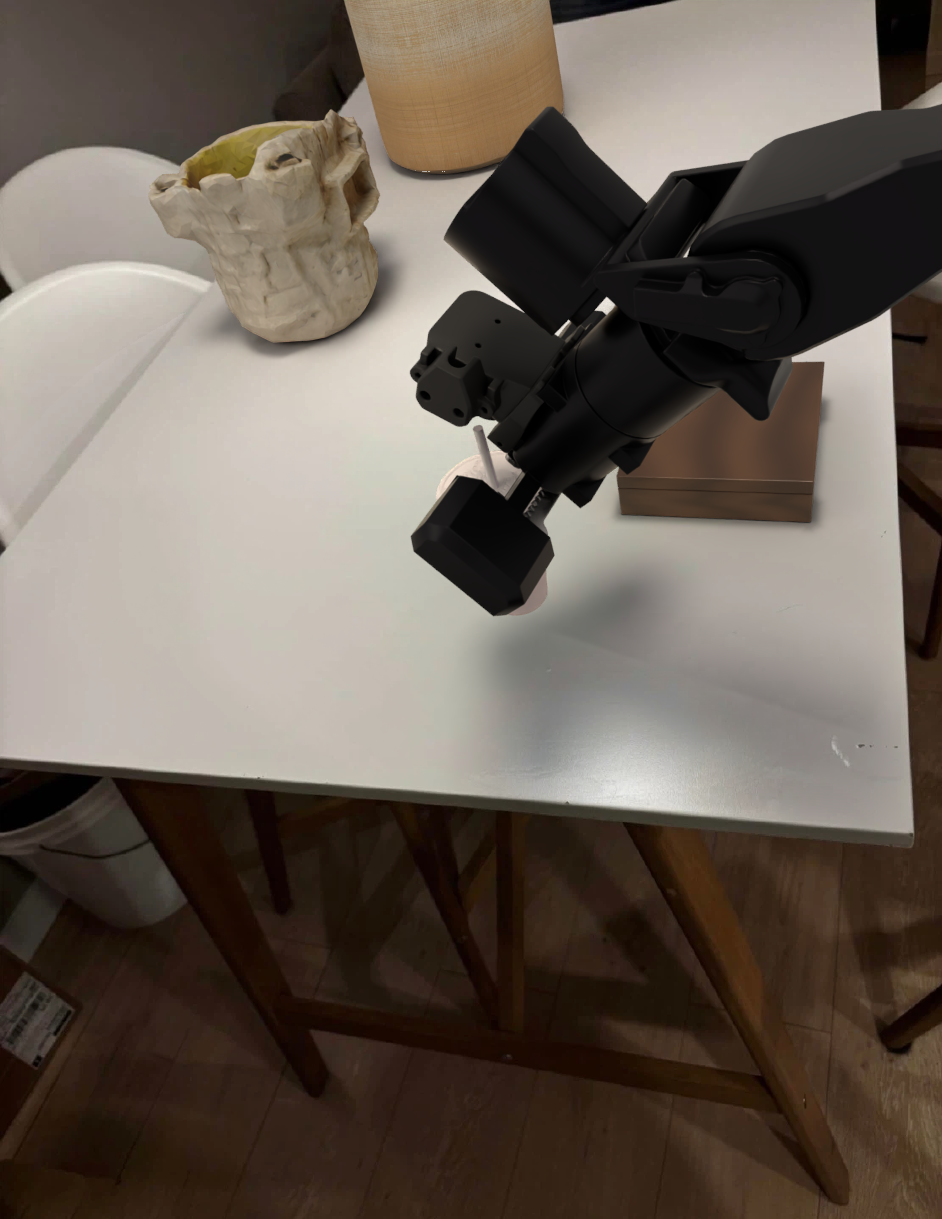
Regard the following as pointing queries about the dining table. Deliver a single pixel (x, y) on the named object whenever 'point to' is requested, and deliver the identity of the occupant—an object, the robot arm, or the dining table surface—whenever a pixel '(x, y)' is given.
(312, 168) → the ceramic vessel
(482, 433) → the smoothie
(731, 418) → the wooden jewelry box
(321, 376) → the dining table surface
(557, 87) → the planter
